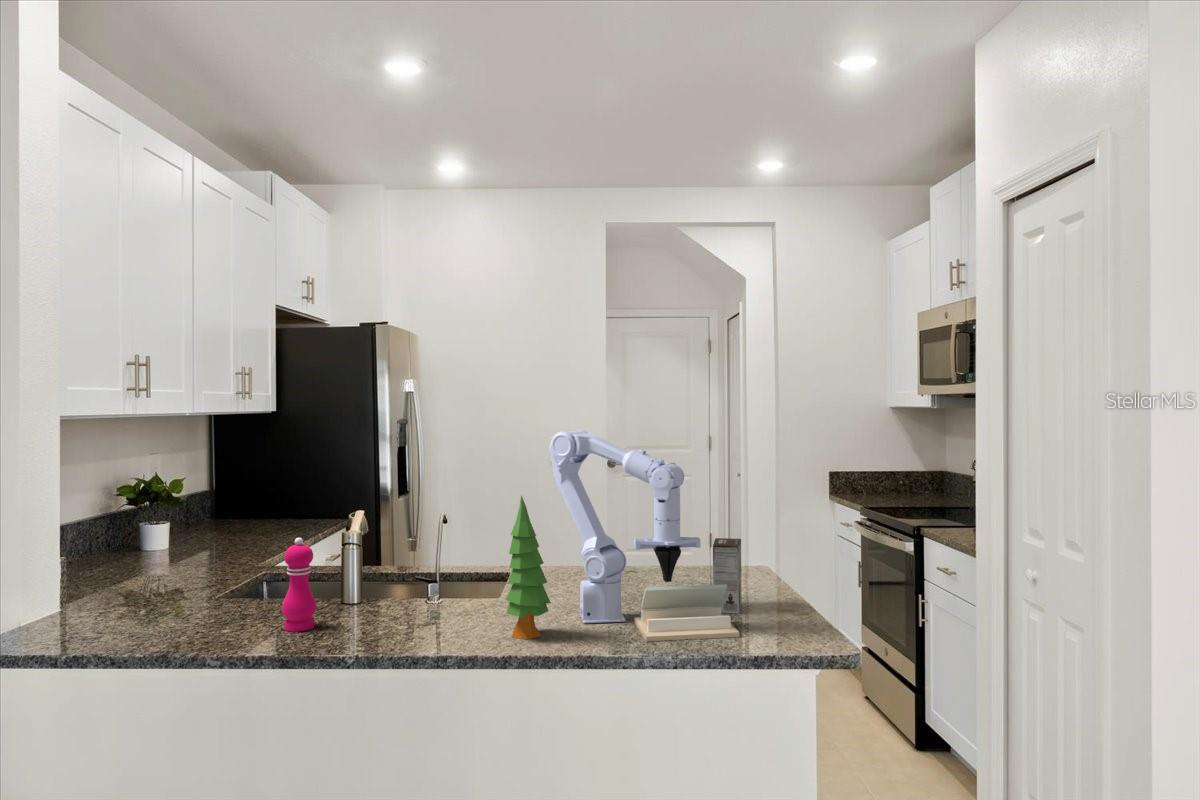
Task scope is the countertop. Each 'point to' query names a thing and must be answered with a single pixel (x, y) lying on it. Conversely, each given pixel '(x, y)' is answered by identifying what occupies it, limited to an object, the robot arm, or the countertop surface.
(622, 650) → the countertop surface
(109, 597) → the countertop surface
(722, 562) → the coffee box
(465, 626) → the countertop surface
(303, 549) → the pepper mill
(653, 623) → the duct base
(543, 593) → the decorative tree
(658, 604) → the panel
